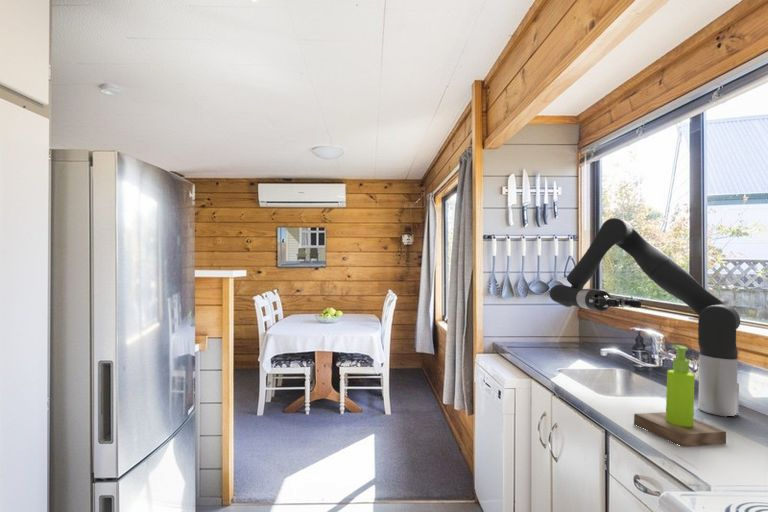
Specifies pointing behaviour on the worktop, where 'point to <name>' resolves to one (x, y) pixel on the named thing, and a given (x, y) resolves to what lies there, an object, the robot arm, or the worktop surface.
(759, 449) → the worktop surface
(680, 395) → the soap dispenser
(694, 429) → the wooden cutting board
